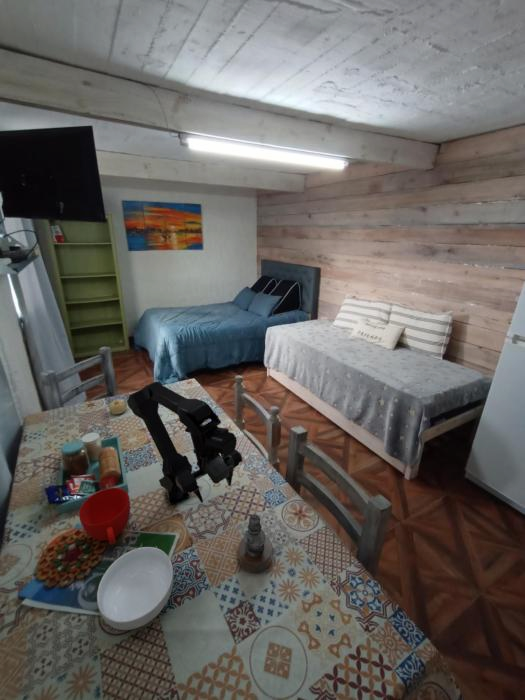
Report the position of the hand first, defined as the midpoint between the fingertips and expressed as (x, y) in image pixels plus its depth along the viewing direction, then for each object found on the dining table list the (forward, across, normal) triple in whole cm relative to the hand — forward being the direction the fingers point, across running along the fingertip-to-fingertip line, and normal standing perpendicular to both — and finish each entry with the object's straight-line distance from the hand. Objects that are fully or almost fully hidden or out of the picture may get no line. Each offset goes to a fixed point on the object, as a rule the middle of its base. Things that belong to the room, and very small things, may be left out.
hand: (216, 493), depth 92 cm
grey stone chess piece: (+12, +2, -13) cm, 18 cm away
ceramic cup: (+7, -27, +17) cm, 33 cm away
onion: (-6, -8, +83) cm, 84 cm away
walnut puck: (+15, +2, -13) cm, 20 cm away
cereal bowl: (+12, -26, -5) cm, 29 cm away
